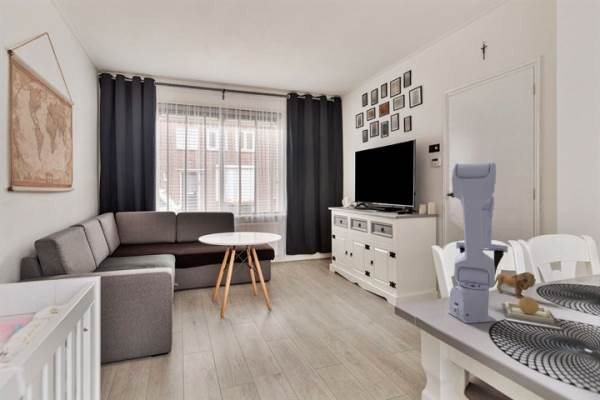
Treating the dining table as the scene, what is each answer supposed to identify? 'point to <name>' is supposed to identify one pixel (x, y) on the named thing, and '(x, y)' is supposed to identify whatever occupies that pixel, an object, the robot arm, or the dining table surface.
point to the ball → (528, 305)
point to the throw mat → (530, 317)
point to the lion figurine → (516, 282)
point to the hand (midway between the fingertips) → (480, 272)
